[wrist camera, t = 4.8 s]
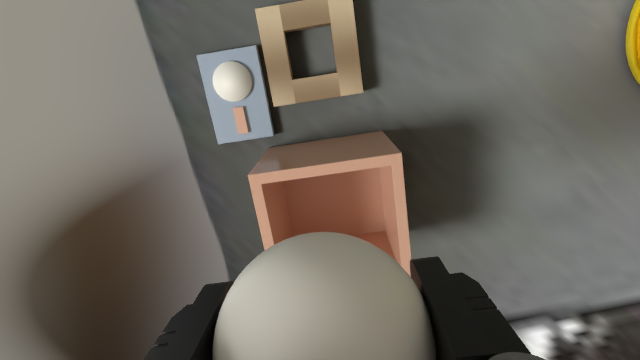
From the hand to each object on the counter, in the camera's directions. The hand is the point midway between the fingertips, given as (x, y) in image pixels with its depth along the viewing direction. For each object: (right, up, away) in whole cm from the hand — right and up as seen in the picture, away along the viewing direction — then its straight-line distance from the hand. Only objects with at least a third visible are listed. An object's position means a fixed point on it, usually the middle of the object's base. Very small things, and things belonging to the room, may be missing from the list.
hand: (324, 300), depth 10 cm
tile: (-6, +9, +15) cm, 18 cm away
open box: (+1, +2, +17) cm, 17 cm away
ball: (0, 0, -2) cm, 2 cm away
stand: (-1, +12, +14) cm, 18 cm away
